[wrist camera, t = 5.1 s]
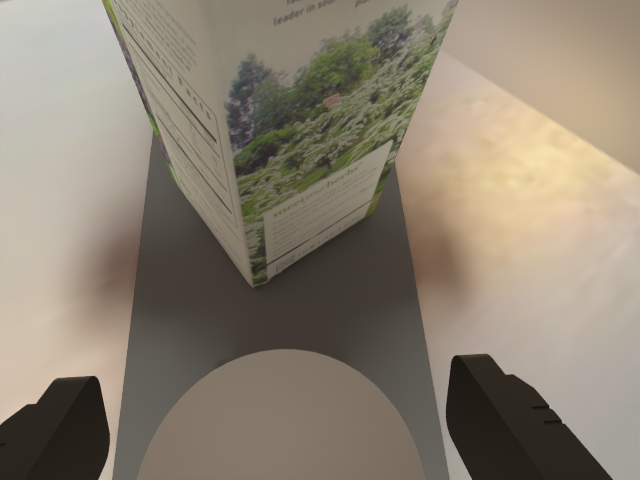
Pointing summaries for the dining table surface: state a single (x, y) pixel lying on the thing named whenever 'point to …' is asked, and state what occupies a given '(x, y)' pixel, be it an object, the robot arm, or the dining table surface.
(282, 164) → the syrup box
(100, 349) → the dining table surface
